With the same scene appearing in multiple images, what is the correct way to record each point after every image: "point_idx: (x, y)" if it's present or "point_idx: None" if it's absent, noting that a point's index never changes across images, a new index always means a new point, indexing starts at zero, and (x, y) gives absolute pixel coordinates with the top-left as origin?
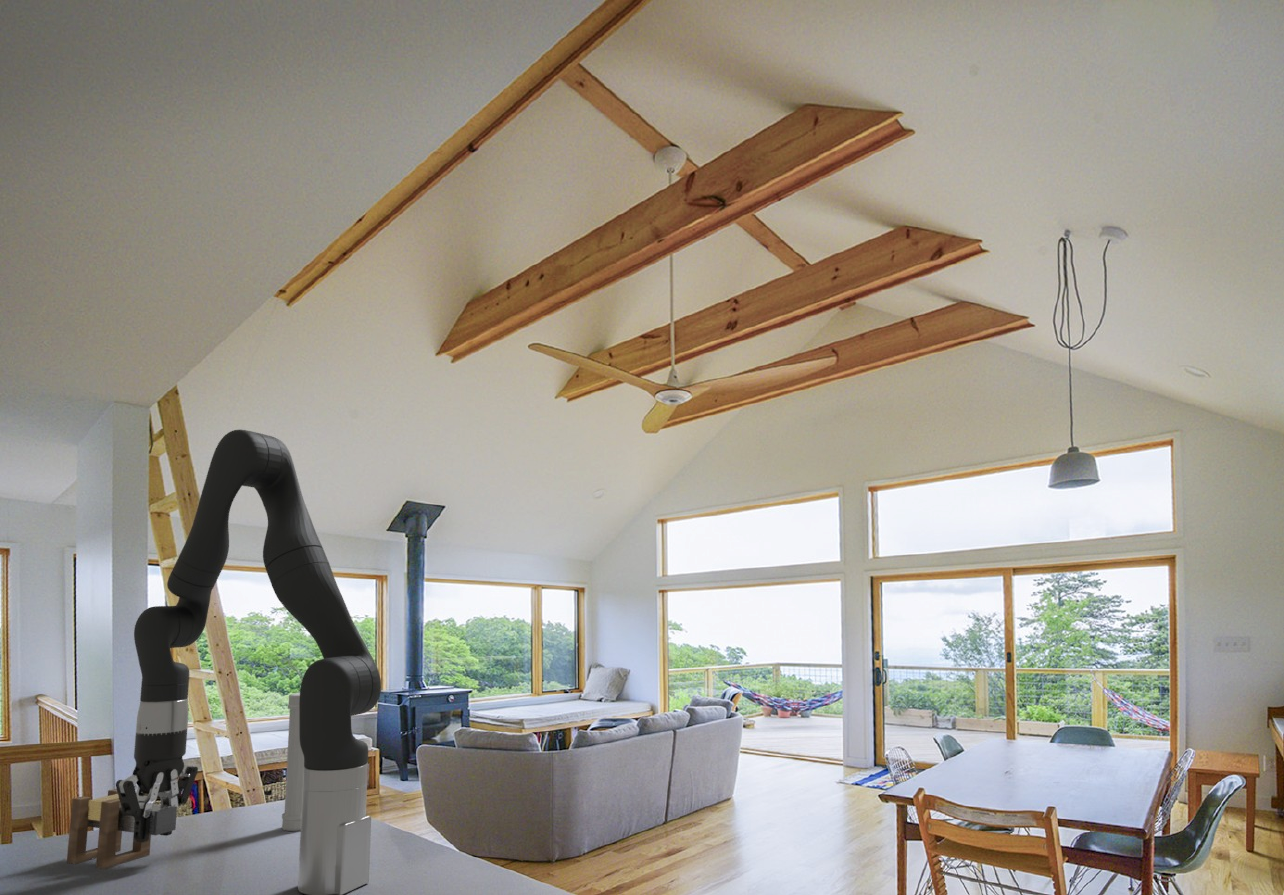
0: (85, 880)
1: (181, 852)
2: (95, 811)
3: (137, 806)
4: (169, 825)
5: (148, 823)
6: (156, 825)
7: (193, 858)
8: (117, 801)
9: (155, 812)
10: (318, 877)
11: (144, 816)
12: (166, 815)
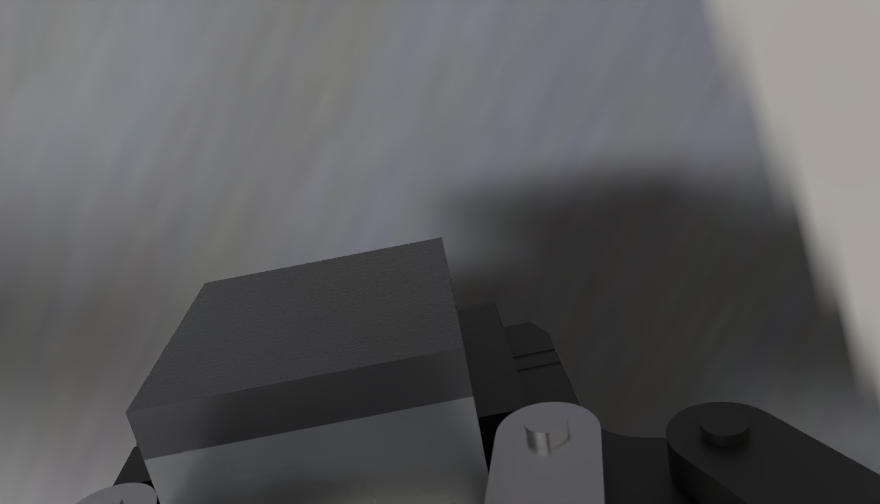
0: (764, 324)
1: (91, 408)
2: None
3: (766, 483)
4: (273, 293)
5: (491, 376)
6: (448, 275)
7: (97, 194)
8: None
9: (467, 379)
10: None
11: (576, 411)
12: (313, 335)
